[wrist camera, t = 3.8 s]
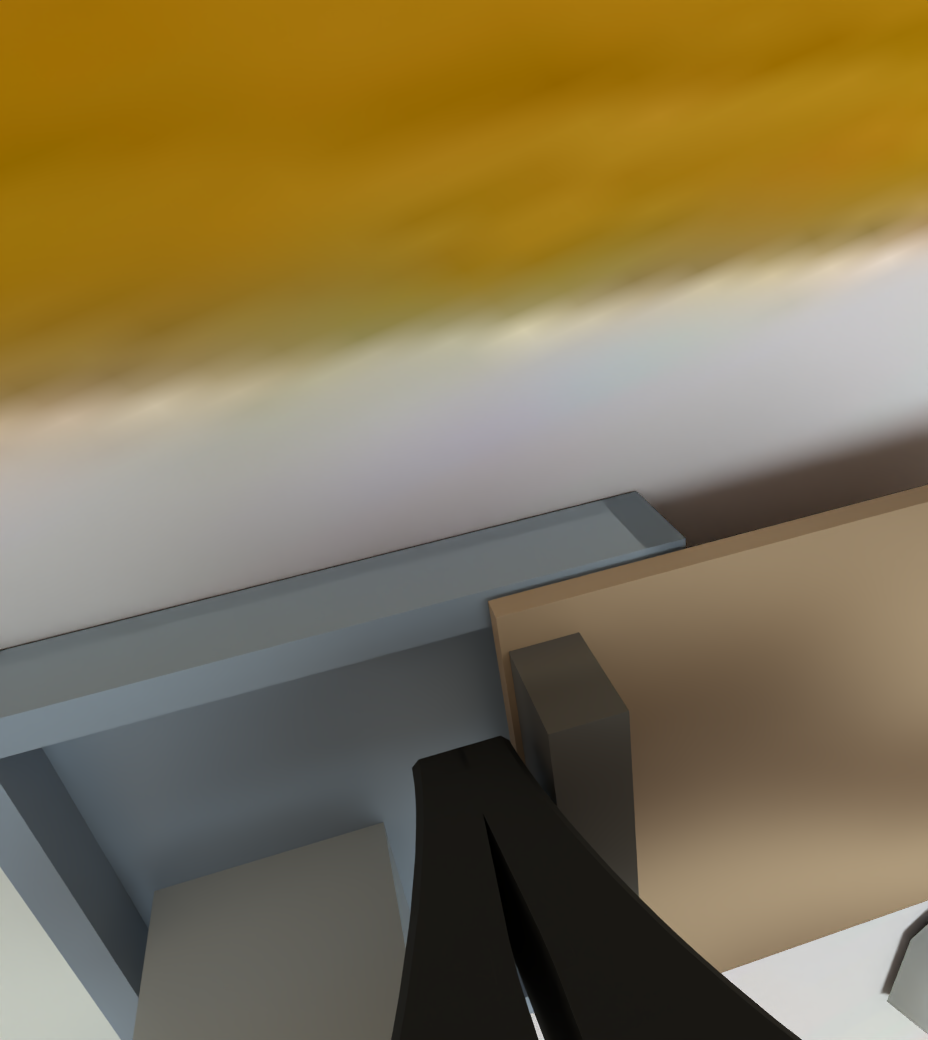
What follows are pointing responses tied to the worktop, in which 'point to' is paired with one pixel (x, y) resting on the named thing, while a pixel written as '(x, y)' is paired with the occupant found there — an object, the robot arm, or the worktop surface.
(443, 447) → the worktop surface
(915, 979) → the flask
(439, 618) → the tray
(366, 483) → the worktop surface
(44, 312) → the worktop surface
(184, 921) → the block
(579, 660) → the door
